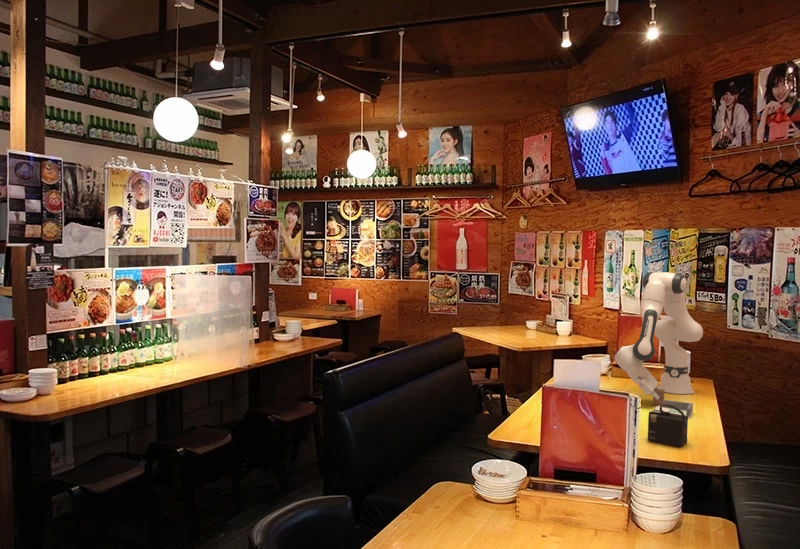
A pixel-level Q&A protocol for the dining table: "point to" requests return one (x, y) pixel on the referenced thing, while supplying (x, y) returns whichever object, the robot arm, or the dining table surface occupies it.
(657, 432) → the black portable radio
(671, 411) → the corner arena
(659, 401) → the walnut block
